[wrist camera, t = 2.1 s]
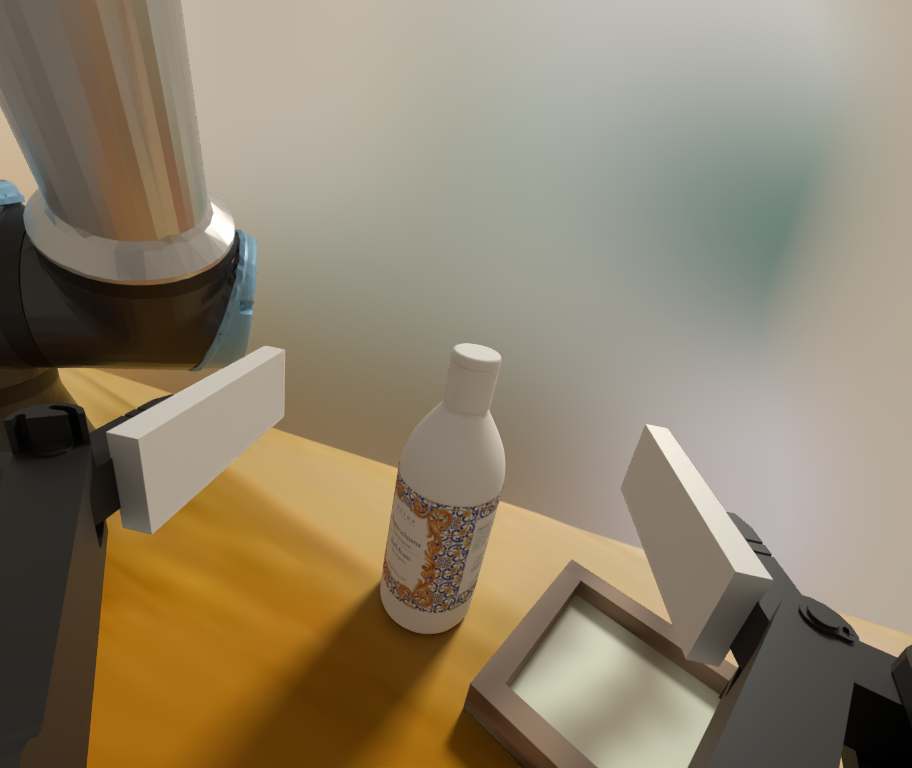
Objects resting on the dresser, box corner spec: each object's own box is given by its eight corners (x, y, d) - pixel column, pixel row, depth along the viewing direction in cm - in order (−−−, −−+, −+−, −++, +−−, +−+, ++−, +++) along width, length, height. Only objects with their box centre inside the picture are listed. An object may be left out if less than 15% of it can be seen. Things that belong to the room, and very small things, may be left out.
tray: (463, 706, 26) (470, 683, 25) (564, 579, 37) (571, 559, 36) (711, 956, 19) (733, 935, 18) (748, 706, 29) (763, 685, 28)
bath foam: (361, 582, 33) (394, 334, 25) (432, 547, 37) (479, 328, 29) (414, 657, 28) (474, 384, 20) (487, 607, 33) (560, 367, 25)
